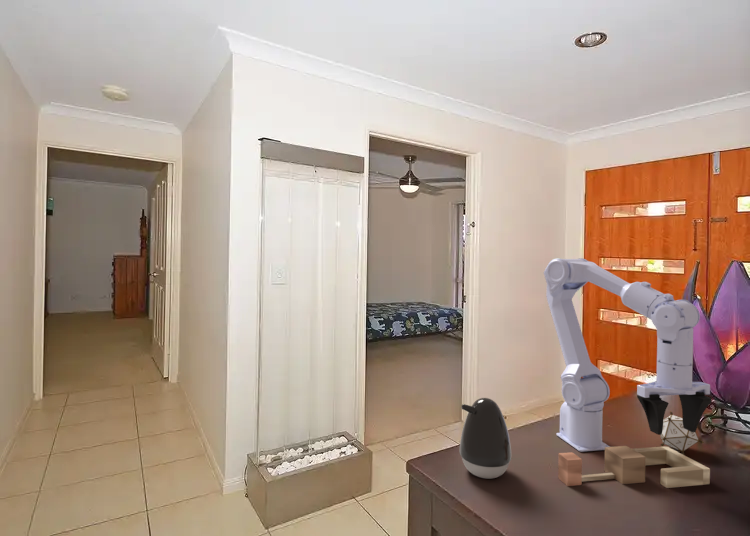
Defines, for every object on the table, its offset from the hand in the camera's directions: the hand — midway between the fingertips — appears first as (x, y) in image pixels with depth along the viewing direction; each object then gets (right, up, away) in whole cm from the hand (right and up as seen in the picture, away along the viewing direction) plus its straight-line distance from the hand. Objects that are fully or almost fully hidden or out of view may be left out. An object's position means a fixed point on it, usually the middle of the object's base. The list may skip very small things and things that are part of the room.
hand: (672, 431), depth 83 cm
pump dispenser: (-36, -10, +3) cm, 38 cm away
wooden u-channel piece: (0, -10, +3) cm, 10 cm away
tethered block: (-14, -10, +1) cm, 17 cm away
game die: (+11, -10, +14) cm, 20 cm away
